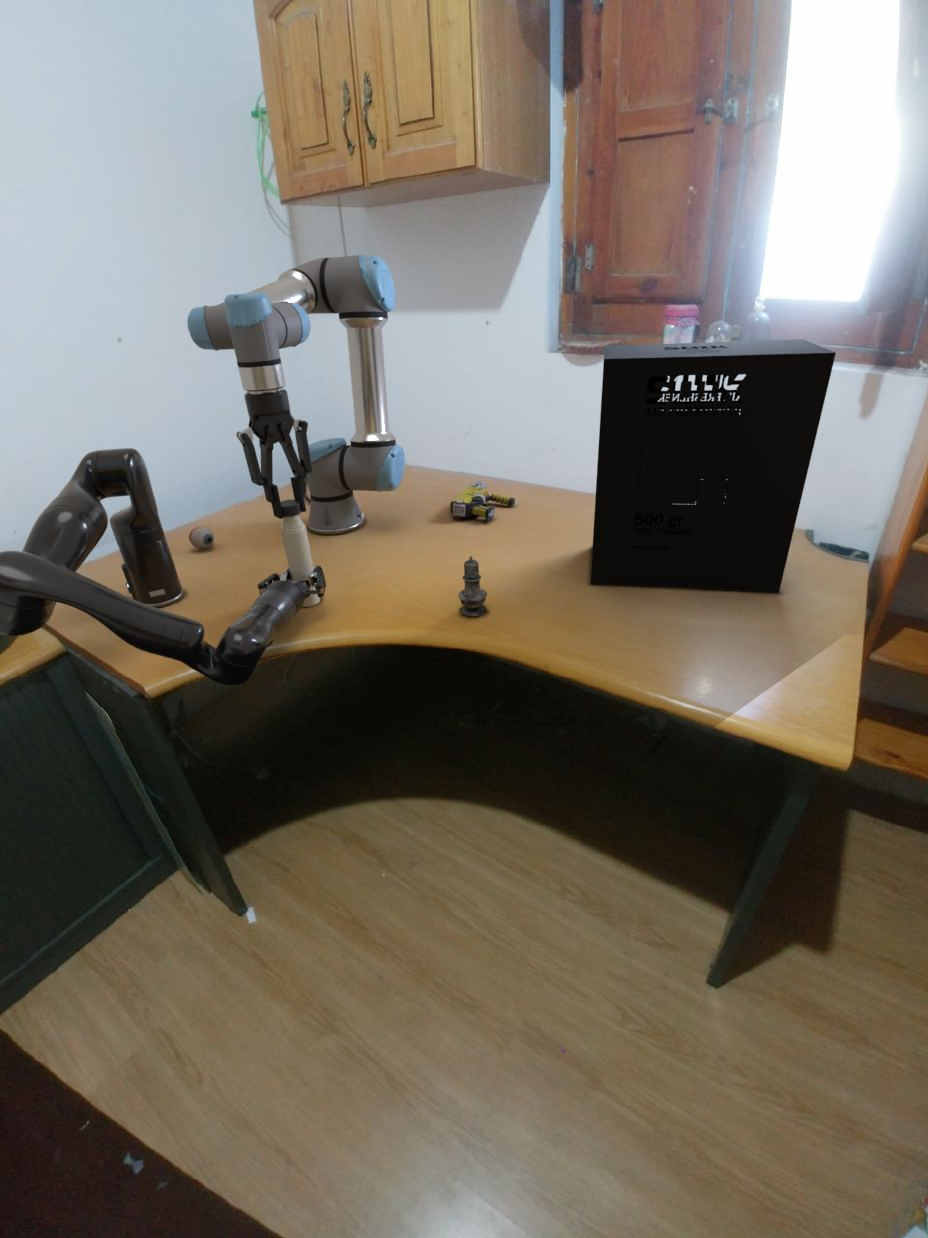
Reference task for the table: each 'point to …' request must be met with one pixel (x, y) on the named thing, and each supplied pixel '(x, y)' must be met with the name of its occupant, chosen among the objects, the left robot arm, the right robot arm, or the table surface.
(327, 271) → the right robot arm
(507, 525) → the table surface
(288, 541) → the bottle
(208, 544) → the eyeball
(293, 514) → the cap
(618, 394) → the cardboard box
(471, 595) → the dark grey tall piece
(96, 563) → the table surface
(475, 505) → the toy gun
